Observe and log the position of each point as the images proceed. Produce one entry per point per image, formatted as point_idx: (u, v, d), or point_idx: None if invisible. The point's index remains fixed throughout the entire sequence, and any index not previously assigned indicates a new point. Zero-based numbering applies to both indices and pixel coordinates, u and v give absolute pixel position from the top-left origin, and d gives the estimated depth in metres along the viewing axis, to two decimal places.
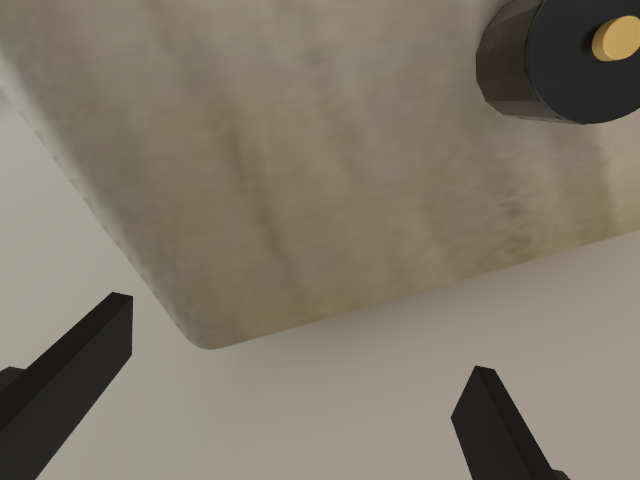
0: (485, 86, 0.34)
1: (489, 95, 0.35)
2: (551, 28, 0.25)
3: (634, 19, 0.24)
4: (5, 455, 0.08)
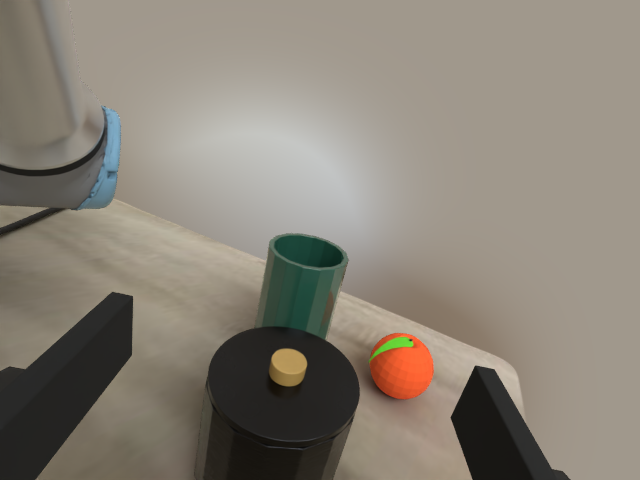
0: None
1: None
2: (228, 386, 0.24)
3: (285, 349, 0.27)
4: (5, 455, 0.08)
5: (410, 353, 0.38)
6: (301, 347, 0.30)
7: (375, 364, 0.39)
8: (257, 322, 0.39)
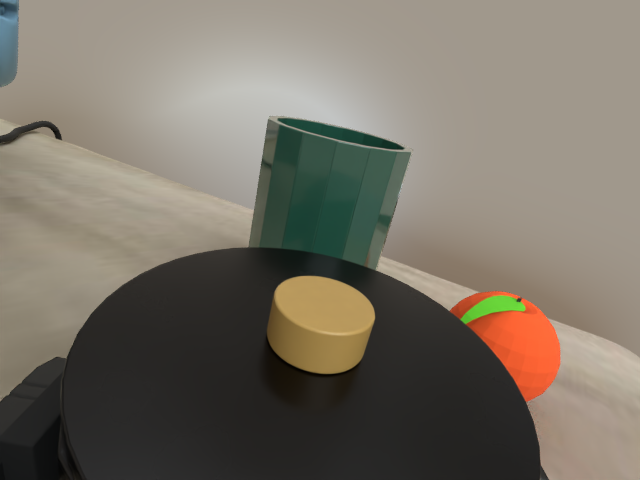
0: None
1: None
2: (132, 373, 0.07)
3: (310, 277, 0.10)
4: None
5: (526, 322, 0.21)
6: None
7: None
8: None
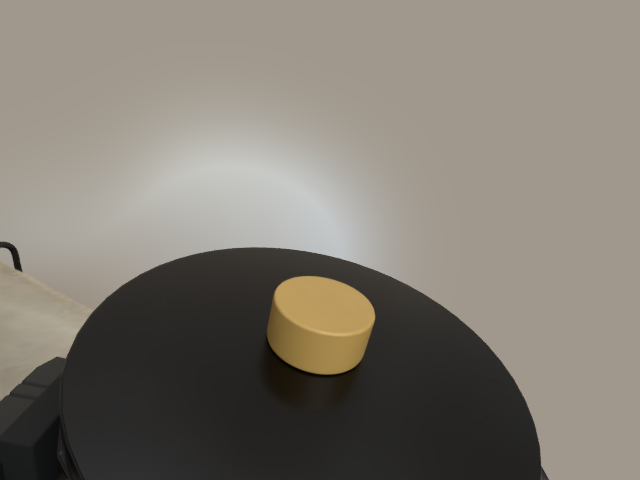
0: None
1: None
2: (132, 374, 0.07)
3: (310, 277, 0.10)
4: None
5: None
6: None
7: None
8: None
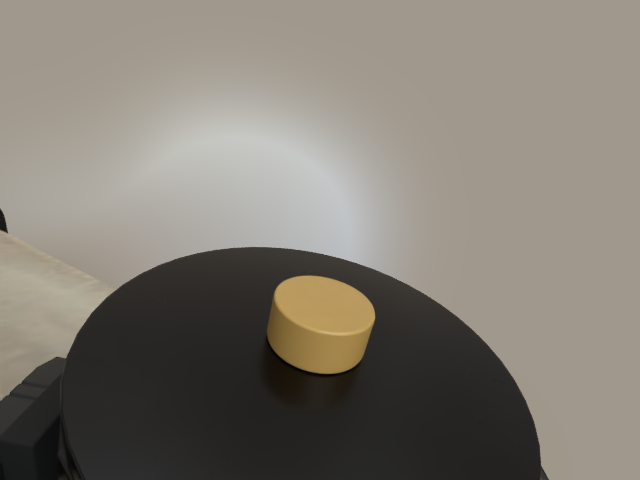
0: None
1: None
2: (132, 373, 0.07)
3: (310, 276, 0.10)
4: None
5: None
6: None
7: None
8: None
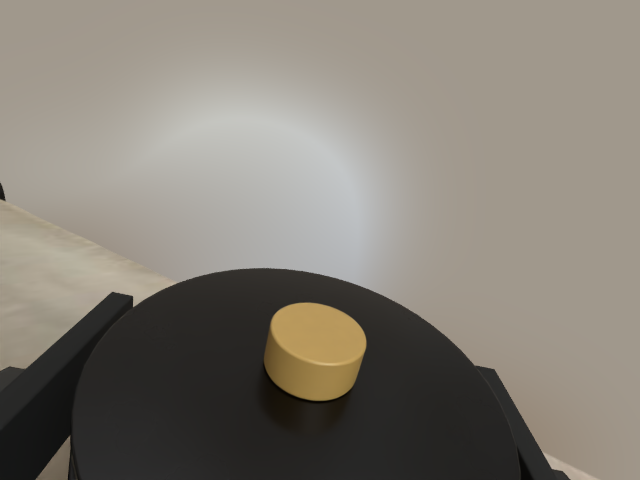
0: None
1: None
2: (137, 404, 0.08)
3: (305, 304, 0.11)
4: (5, 455, 0.08)
5: None
6: (338, 308, 0.13)
7: None
8: None
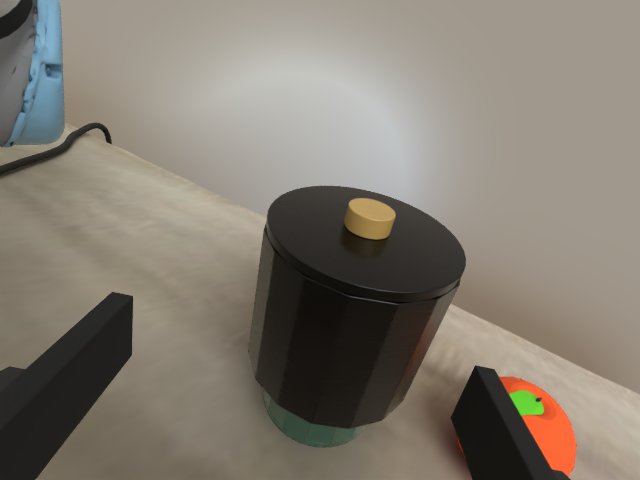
0: (291, 395, 0.20)
1: (307, 403, 0.20)
2: (294, 230, 0.18)
3: (365, 198, 0.21)
4: (5, 454, 0.08)
5: (541, 429, 0.21)
6: None
7: None
8: None
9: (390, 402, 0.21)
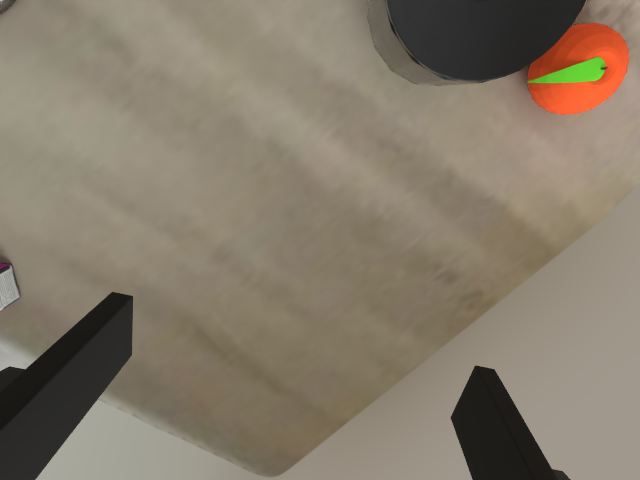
0: (400, 73, 0.29)
1: (411, 79, 0.29)
2: (410, 0, 0.20)
3: None
4: (5, 454, 0.08)
5: (586, 91, 0.28)
6: None
7: (535, 78, 0.31)
8: None
9: None
